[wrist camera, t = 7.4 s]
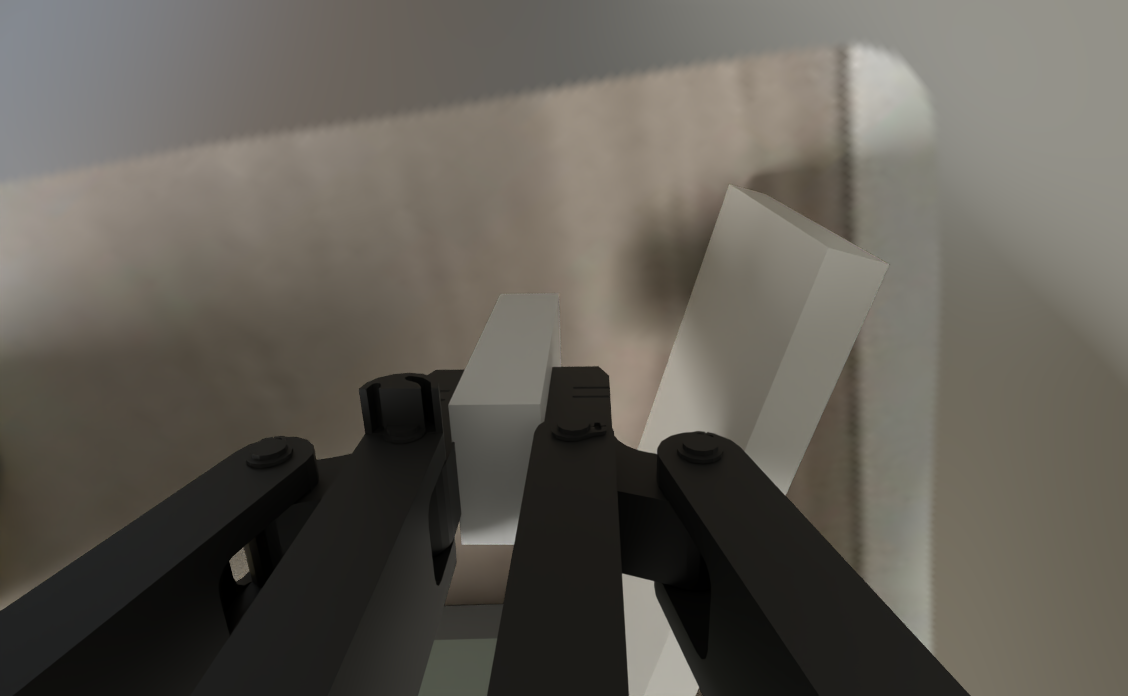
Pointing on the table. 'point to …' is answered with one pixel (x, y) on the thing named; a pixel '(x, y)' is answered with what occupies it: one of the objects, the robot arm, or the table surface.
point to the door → (750, 371)
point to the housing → (462, 651)
